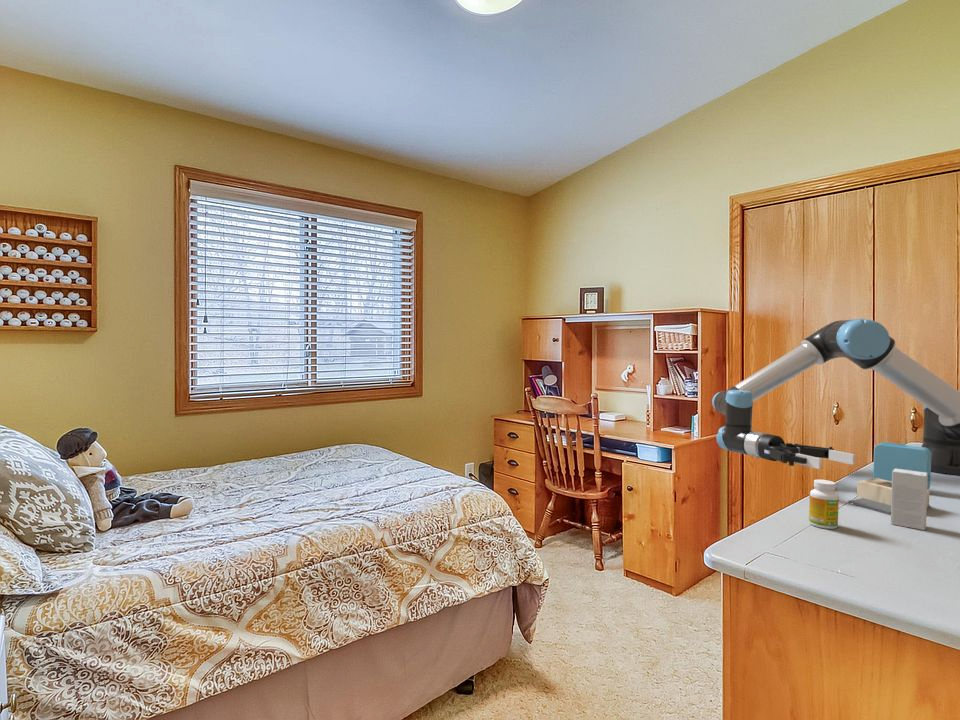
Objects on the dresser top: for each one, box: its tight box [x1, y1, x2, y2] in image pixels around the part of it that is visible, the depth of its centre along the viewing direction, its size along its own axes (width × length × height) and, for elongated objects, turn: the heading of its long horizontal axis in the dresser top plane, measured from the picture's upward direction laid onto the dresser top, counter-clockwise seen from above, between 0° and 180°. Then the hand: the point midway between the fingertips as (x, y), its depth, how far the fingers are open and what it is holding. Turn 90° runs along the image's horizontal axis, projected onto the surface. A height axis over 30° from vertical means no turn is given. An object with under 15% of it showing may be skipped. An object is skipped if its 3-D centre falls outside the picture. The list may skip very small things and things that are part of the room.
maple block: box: [856, 478, 931, 508], centre depth 135 cm, size 8×4×12 cm
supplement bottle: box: [808, 479, 840, 530], centre depth 119 cm, size 5×5×10 cm
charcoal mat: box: [847, 497, 930, 516], centre depth 134 cm, size 16×10×1 cm, turn 113°
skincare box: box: [890, 469, 928, 531], centre depth 119 cm, size 6×4×12 cm
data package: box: [872, 442, 932, 490], centre depth 149 cm, size 12×4×12 cm, turn 42°
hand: (837, 461), depth 141 cm, fingers open, 13 cm apart
